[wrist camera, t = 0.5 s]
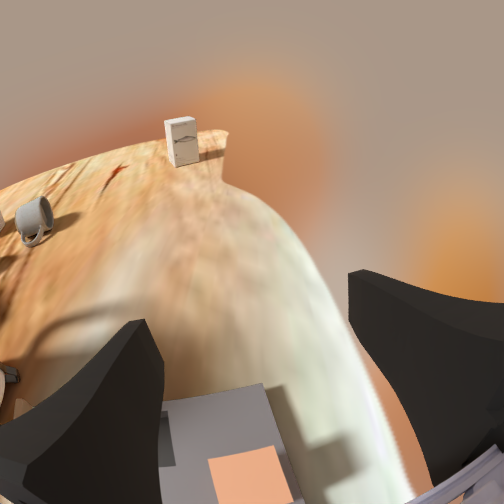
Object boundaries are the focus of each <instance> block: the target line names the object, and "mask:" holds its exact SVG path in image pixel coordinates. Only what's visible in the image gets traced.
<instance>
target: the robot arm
mask: <svg viewBox="0 0 504 504" xmlns="http://www.w3.org/2000/svg"><path fill="white" fill-rule="evenodd" d="M348 296H349V319H348V320H349V322H350V324H351V326H352V328H353V330H354V332H355V334H356V336H357V338H358V339H359V341H360V343H361V344H362V346H363V347H364V348H365V350H366V351H367V352H368V354H369V355H370V357H371V358H372V359H373V361H374V362H375V364H376V365H377V366H378V368H379V369H380V371H381V372H382V373H383V375H384V376H385V378H386V379H387V380H388V382H389V383H390V385H391V386H392V388H393V389H394V391H395V392H396V394H397V397H398V398H399V400H400V402H401V404H402V406H403V408H404V410H405V412H406V414H407V416H408V418H409V421H410V423H411V425H412V427H413V429H414V432H415V434H416V437H417V439H418V442H419V444H420V447H421V449H422V452H423V455H424V458H425V461H426V464H427V467H428V470H429V473H430V477H431V481H432V484H433V486H434V488H433V489H431V490H429V491H428V492H426V493H424V494H422V495H420V496H419V497H417V498H415V499H413V500H411V501H409V502H407V503H405V504H448V503H450V502H451V501H453V500H454V499H456V498H457V497H459V496H460V495H461V494H463V493H464V492H465V494H464V496H463V501H462V503H460V504H504V303H491V302H482V301H474V300H467V299H462V298H457V297H452V296H448V295H443V294H439V293H436V292H432V291H429V290H425V289H422V288H419V287H416V286H413V285H410V284H407V283H404V282H401V281H398V280H396V279H393V278H390V277H387V276H384V275H381V274H378V273H375V272H372V271H368V270H364V269H363V270H359V271H355V272H352V273H348ZM163 393H164V361H163V359H162V357H161V355H160V352H159V350H158V348H157V346H156V344H155V342H154V339H153V337H152V335H151V333H150V330H149V328H148V326H147V323H146V321H145V319H140V320H134V321H129V322H128V323H127V324H125V325H124V326H123V327H122V328H121V329H120V330H119V331H118V332H117V333H116V334H115V335H114V336H113V337H112V338H111V340H110V341H109V342H108V343H107V344H106V345H105V346H104V347H103V348H102V349H101V350H100V351H99V352H98V353H97V354H96V355H95V356H94V357H93V358H92V359H91V360H90V361H89V362H88V363H87V364H86V365H85V366H84V367H83V368H82V369H81V370H80V371H79V372H78V373H77V374H76V375H75V376H74V377H73V378H72V379H71V380H70V381H68V382H67V383H66V384H65V385H64V386H63V387H61V388H60V389H59V390H58V391H56V392H55V393H54V394H53V395H51V396H50V397H48V398H47V399H46V400H44V401H43V402H41V403H40V404H38V405H37V406H35V407H34V408H33V409H31V410H29V411H28V412H26V413H24V414H23V415H21V416H19V417H17V418H15V419H13V420H12V421H10V422H8V423H6V424H3V425H1V426H0V494H1V495H2V496H4V497H5V498H6V499H8V500H9V501H11V502H12V503H14V504H163V503H162V497H161V489H160V479H159V466H158V435H159V426H160V418H161V409H162V401H163ZM0 504H1V503H0Z"/></svg>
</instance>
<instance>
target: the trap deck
mask: <svg viewBox="0 0 504 504" xmlns="http://www.w3.org/2000/svg"><path fill="white" fill-rule="evenodd" d="M33 408H34V407H33V406H31V405H30V404H29V403H28V402H27V401H25V400H24V399H17V398H16V402H15V409H14V417H13V419H15V418H17V417H19V416H21V415H23V414H24V413H26V412H28V411H29V410H31V409H33ZM272 445H274V447H275V450H276V453H277V456H278V459H279V462H280V465H281V468H282V470H283V473H284V476H285V479H286V482H287V484H288V487H289V490H290V493H291V495H292V498H293V501H294V502H291V503H287V504H305V501H304V499H303V496H302V493H301V491H300V488H299V486H298V483H297V480H296V477H295V475H294V472H293V469H292V467H291V464H290V461H289V458H288V456H287V453H286V450H285V447H284V444H283V442H282V439H281V436H280V433H279V430H278V427H277V425H276V422H275V419H274V416H273V413H272V410H271V407H270V404H269V401H268V398H267V395H266V392H265V389H264V386H263V383H260V384H255V385H251V386H247V387H242V388H238V389H233V390H228V391H223V392H218V393H213V394H208V395H202V396H196V397H190V398H184V399H177V400H170V401H162V409H161V418H160V426H159V435H158V466H159V479H160V489H161V497H162V503H163V504H219V502H218V498H217V495H216V491H215V487H214V483H213V479H212V475H211V471H210V467H209V463H208V459H212V458H218V457H223V456H229V455H234V454H239V453H243V452H248V451H252V450H257V449H261V448H265V447H269V446H272ZM12 504H14V503H12Z"/></svg>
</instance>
